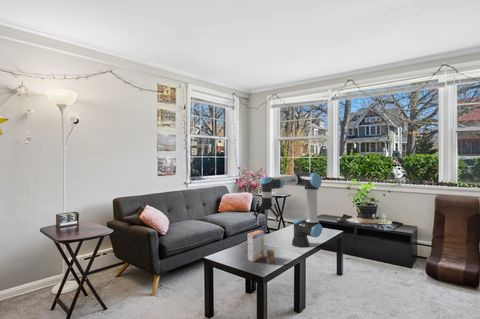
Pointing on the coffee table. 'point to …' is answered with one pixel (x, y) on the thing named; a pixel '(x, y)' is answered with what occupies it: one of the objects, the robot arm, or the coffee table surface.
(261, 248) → the cracker box
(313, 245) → the coffee table surface
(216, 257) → the coffee table surface
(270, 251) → the walnut block
